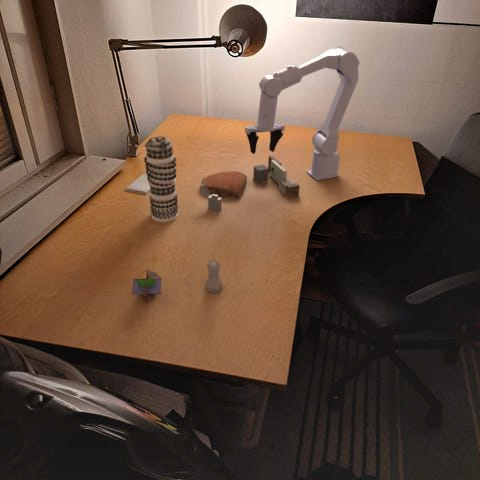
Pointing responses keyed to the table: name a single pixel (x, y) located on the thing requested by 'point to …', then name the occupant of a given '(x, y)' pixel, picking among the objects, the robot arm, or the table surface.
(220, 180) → the ceramic shard
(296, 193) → the door frame
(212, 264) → the rook chess piece
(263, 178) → the grey block
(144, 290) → the geometric puzzle
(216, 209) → the lighter
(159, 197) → the decorative candle
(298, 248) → the table surface
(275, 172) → the cream bar
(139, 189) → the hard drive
